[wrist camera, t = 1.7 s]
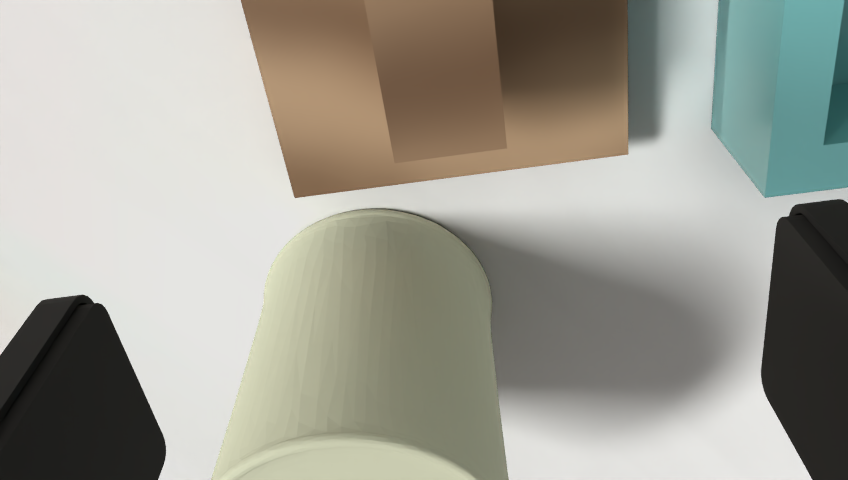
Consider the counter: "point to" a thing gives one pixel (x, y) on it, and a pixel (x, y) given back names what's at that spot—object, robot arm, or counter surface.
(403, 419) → the can
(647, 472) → the counter surface
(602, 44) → the lid
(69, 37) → the counter surface
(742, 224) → the counter surface
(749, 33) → the dish
